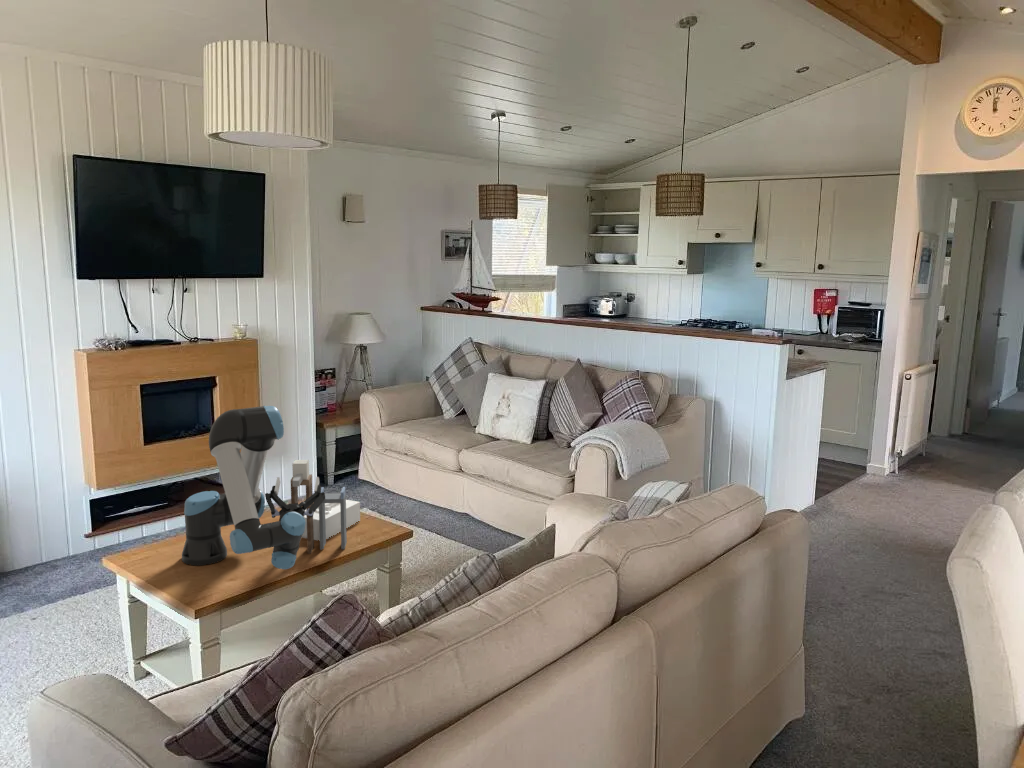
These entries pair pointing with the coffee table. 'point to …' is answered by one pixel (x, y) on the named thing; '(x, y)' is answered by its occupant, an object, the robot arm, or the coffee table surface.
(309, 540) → the tall stand
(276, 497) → the robot arm
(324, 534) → the short stand
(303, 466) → the plug
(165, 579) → the coffee table surface
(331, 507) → the tissue box
